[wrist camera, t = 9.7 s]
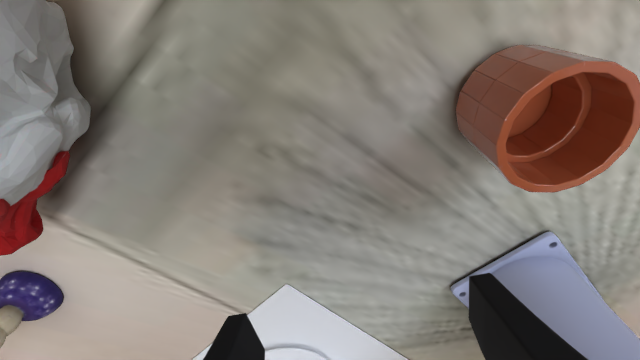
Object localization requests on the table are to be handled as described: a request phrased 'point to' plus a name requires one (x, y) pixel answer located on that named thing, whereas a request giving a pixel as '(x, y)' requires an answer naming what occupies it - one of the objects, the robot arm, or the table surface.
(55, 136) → the white lump red frill
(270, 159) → the table surface
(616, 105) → the pot
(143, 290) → the table surface
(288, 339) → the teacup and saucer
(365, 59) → the table surface
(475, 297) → the robot arm
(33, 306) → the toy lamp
